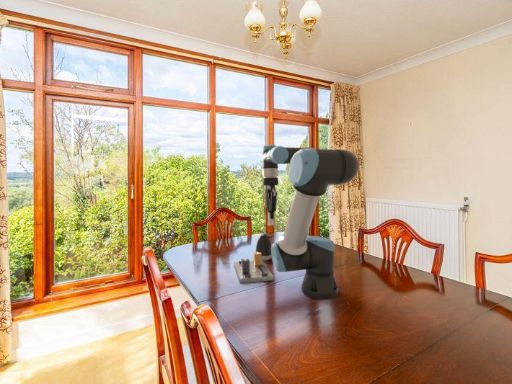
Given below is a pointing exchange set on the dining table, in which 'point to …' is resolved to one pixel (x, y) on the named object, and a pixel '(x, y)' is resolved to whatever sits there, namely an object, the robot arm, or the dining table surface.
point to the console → (253, 273)
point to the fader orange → (257, 258)
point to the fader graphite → (245, 265)
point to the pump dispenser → (264, 246)
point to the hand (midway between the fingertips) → (271, 225)
